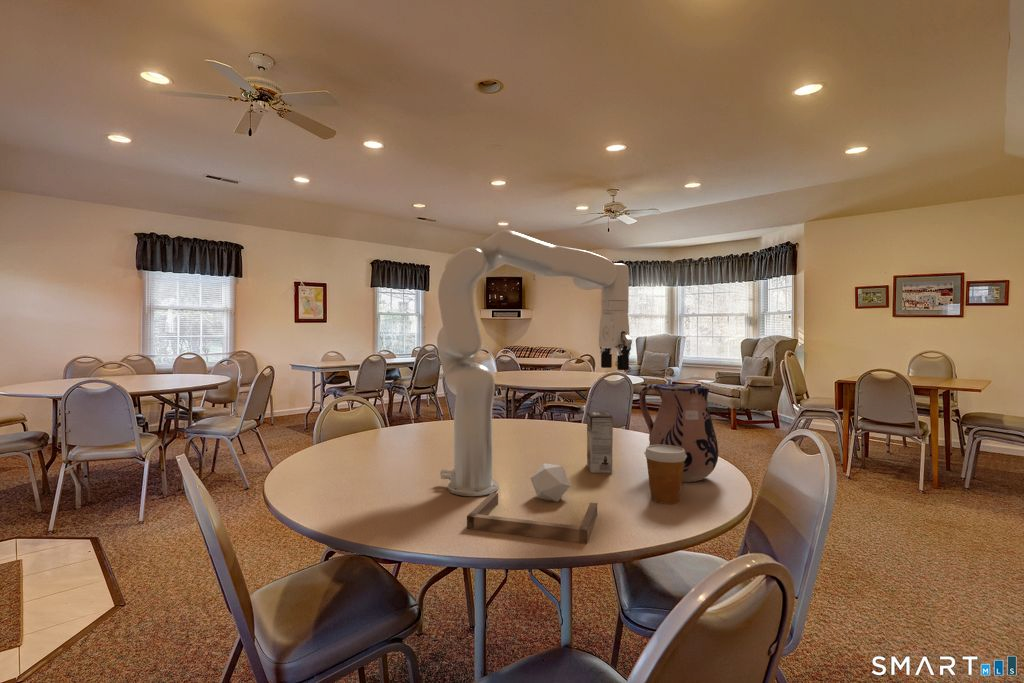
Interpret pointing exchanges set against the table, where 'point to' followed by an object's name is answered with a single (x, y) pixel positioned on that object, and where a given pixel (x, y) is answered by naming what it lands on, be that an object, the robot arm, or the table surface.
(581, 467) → the table surface
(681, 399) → the ceramic pitcher
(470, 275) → the robot arm
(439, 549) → the table surface
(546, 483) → the die
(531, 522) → the wooden u-shaped frame
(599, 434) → the coffee box
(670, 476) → the disposable coffee cup
